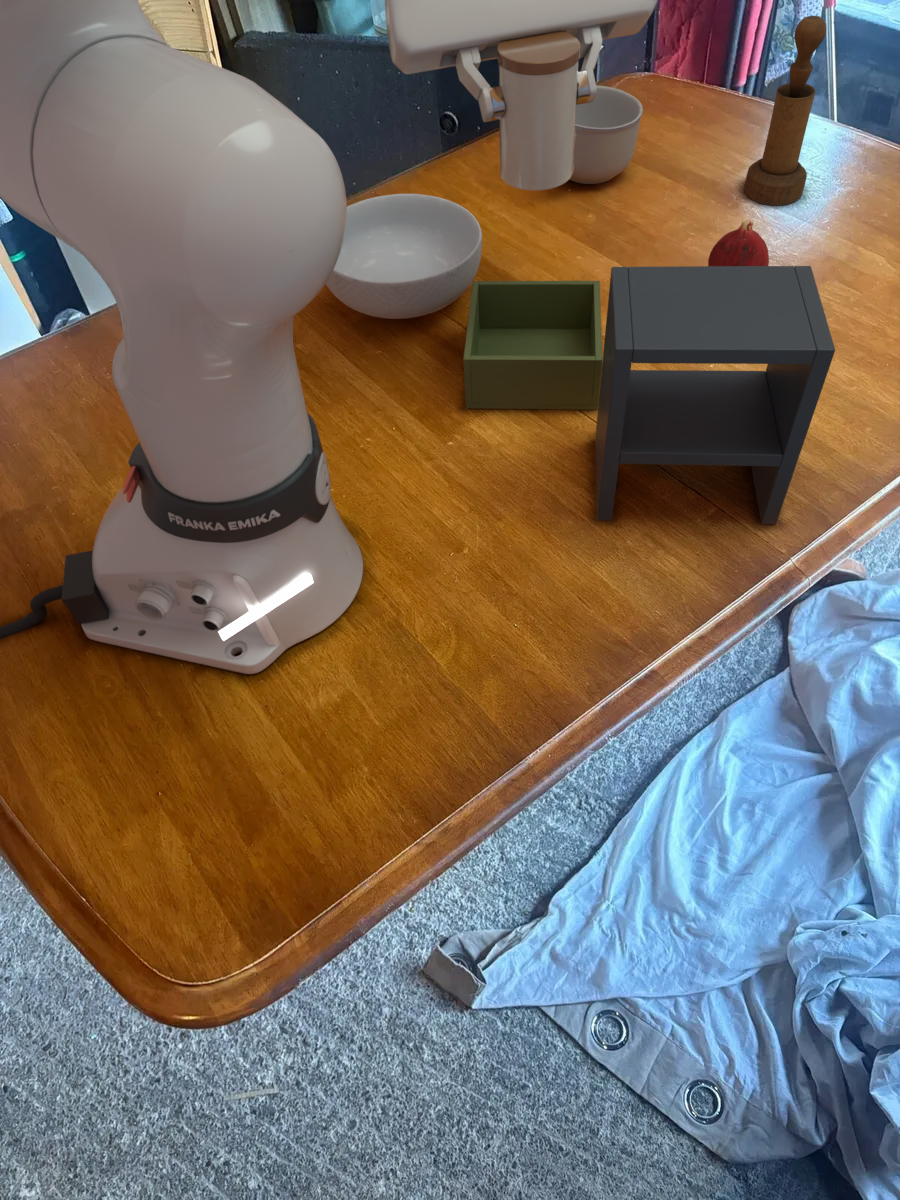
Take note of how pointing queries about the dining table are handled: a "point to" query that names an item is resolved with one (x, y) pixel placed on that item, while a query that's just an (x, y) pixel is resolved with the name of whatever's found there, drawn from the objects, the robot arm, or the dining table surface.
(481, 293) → the bin
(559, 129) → the jar
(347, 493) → the dining table surface
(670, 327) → the shelf
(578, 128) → the teacup
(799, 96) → the mortar and pestle
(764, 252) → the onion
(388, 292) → the cereal bowl
